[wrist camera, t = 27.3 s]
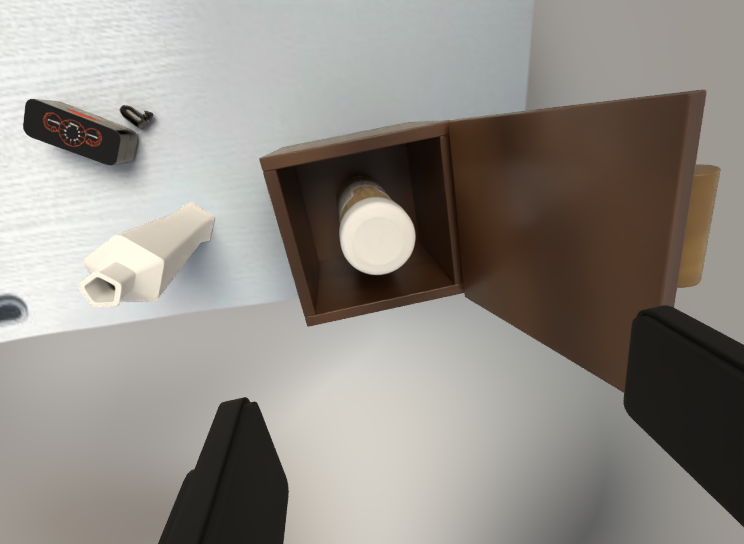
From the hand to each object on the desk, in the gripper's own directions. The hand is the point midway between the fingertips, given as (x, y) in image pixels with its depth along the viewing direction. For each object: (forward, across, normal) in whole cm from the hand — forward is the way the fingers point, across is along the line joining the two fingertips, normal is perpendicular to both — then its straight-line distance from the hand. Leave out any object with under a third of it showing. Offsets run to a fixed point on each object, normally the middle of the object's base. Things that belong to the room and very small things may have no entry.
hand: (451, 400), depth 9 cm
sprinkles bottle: (+27, 0, 0) cm, 27 cm away
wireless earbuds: (+28, +19, -10) cm, 35 cm away
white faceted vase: (+28, +16, 0) cm, 32 cm away
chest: (+28, 0, 0) cm, 28 cm away
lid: (+9, -7, 0) cm, 12 cm away
